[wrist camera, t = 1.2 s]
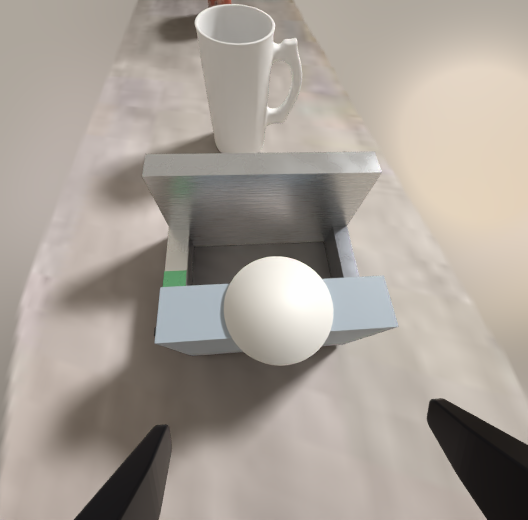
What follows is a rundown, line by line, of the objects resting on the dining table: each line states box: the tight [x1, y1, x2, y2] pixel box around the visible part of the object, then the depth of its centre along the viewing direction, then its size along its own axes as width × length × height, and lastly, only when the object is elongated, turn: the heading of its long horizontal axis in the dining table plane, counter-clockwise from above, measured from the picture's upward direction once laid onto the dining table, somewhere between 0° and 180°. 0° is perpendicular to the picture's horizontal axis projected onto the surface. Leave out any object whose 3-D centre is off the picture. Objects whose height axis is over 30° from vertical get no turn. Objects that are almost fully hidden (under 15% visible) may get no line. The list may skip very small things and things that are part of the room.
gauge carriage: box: [154, 256, 399, 366], centre depth 18 cm, size 6×15×9 cm, turn 94°
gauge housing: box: [142, 152, 382, 287], centre depth 20 cm, size 11×17×10 cm, turn 94°
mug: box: [195, 4, 302, 153], centre depth 27 cm, size 10×7×12 cm, turn 95°
